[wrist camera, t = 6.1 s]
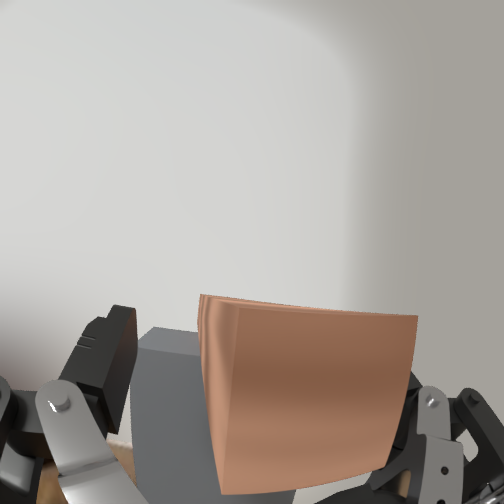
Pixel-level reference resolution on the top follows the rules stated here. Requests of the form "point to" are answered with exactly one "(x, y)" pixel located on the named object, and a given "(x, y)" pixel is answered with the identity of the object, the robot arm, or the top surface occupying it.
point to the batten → (300, 391)
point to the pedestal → (177, 426)
